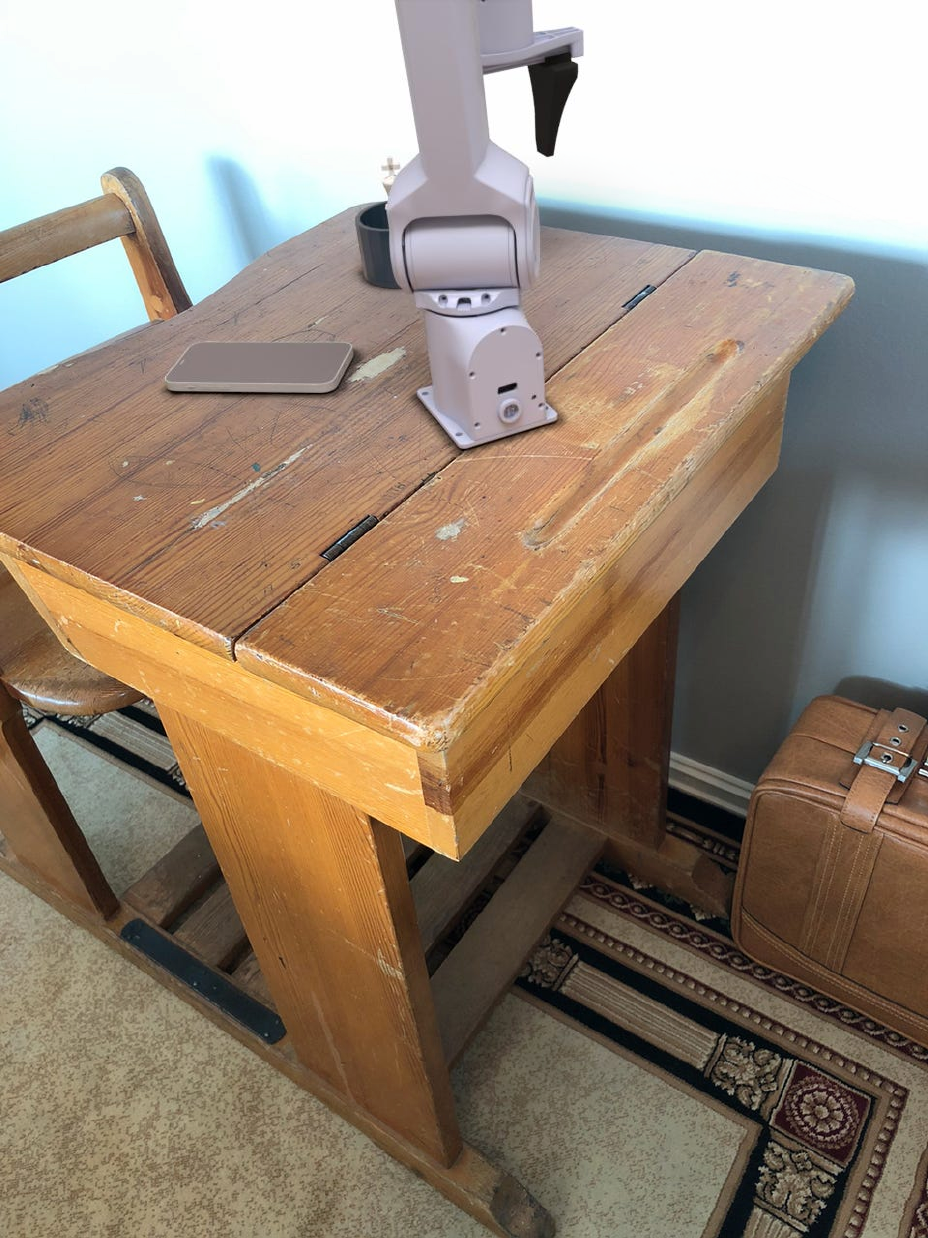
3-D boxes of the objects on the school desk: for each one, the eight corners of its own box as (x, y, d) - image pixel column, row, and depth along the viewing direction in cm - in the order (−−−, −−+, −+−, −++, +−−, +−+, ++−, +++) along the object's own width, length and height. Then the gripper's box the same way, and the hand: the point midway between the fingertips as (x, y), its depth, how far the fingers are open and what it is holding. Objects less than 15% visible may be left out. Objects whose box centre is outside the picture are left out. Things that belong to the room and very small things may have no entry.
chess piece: (427, 272, 94) (414, 163, 87) (377, 276, 94) (359, 168, 87) (430, 252, 97) (417, 146, 91) (382, 256, 98) (365, 150, 91)
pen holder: (461, 274, 94) (455, 216, 90) (380, 295, 92) (371, 237, 89) (430, 246, 100) (423, 191, 96) (353, 266, 98) (343, 210, 94)
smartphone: (332, 384, 78) (159, 382, 81) (334, 395, 79) (163, 392, 81) (355, 341, 83) (192, 341, 86) (357, 351, 84) (195, 350, 87)
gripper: (554, -41, 81) (559, 134, 90) (391, -10, 77) (413, 168, 86) (595, -31, 76) (596, 153, 85) (422, 3, 72) (442, 191, 81)
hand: (506, 163), depth 85 cm, fingers open, 7 cm apart
